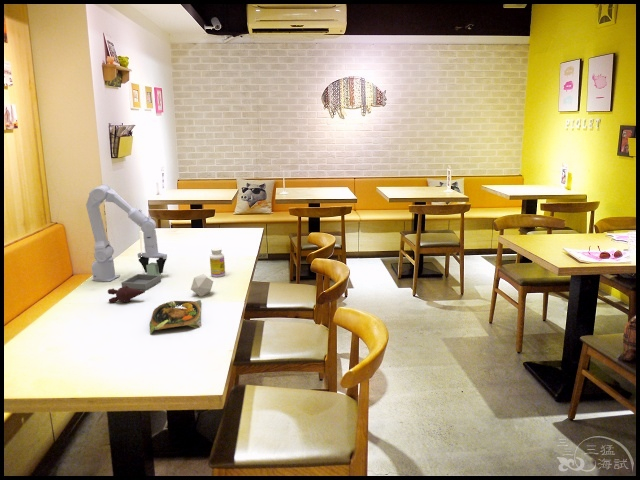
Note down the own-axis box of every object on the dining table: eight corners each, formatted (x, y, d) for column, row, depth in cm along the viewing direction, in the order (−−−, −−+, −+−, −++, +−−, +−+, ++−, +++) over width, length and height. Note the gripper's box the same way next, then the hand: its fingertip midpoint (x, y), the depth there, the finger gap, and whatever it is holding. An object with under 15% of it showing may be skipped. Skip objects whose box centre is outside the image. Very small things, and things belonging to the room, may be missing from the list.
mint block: (147, 277, 233) (146, 265, 232) (152, 274, 238) (151, 262, 236) (155, 277, 232) (154, 265, 231) (161, 274, 236) (159, 263, 235)
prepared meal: (154, 298, 196) (200, 293, 200) (155, 306, 197) (201, 301, 201) (147, 329, 170) (200, 322, 174) (148, 338, 171) (201, 331, 175)
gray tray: (122, 288, 218) (121, 282, 217) (138, 280, 229) (137, 274, 229) (145, 290, 215) (145, 284, 214) (161, 281, 226) (160, 275, 226)
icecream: (146, 282, 206) (110, 287, 205) (141, 284, 199) (103, 288, 198) (148, 298, 206) (112, 303, 205) (143, 301, 199) (105, 305, 198)
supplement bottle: (222, 277, 230) (220, 251, 227) (208, 277, 231) (206, 250, 228) (227, 273, 237) (225, 247, 233) (214, 272, 238) (212, 247, 235)
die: (204, 290, 216) (189, 275, 211) (219, 282, 213) (204, 266, 208) (199, 303, 209) (183, 288, 204) (215, 295, 206) (199, 279, 201)
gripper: (169, 243, 233) (172, 270, 236) (142, 242, 237) (145, 269, 240) (161, 247, 226) (164, 275, 230) (133, 246, 230) (137, 273, 233)
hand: (154, 272), depth 234 cm, fingers open, 7 cm apart
